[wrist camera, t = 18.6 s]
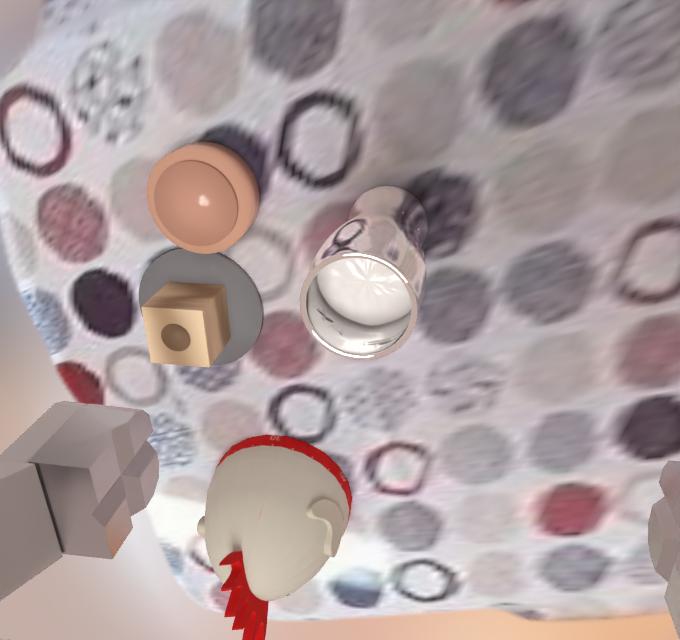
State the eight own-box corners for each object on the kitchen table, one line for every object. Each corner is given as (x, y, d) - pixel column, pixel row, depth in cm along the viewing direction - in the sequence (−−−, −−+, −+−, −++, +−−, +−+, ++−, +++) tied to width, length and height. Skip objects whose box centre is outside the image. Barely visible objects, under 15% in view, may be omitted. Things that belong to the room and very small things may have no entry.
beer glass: (406, 282, 48) (384, 383, 35) (328, 241, 48) (276, 328, 35) (451, 207, 45) (445, 287, 32) (367, 162, 45) (327, 225, 32)
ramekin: (256, 141, 46) (241, 150, 43) (264, 242, 49) (251, 258, 46) (156, 140, 47) (135, 149, 44) (171, 239, 51) (153, 253, 48)
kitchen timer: (248, 549, 66) (194, 684, 52) (194, 447, 60) (120, 569, 47) (370, 533, 61) (345, 676, 48) (324, 423, 56) (281, 549, 43)
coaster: (258, 249, 50) (255, 252, 49) (267, 366, 54) (265, 369, 54) (132, 243, 51) (128, 246, 51) (152, 357, 56) (149, 360, 56)
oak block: (224, 284, 51) (201, 311, 46) (230, 337, 53) (209, 368, 49) (168, 281, 52) (140, 307, 47) (176, 333, 54) (150, 363, 49)
